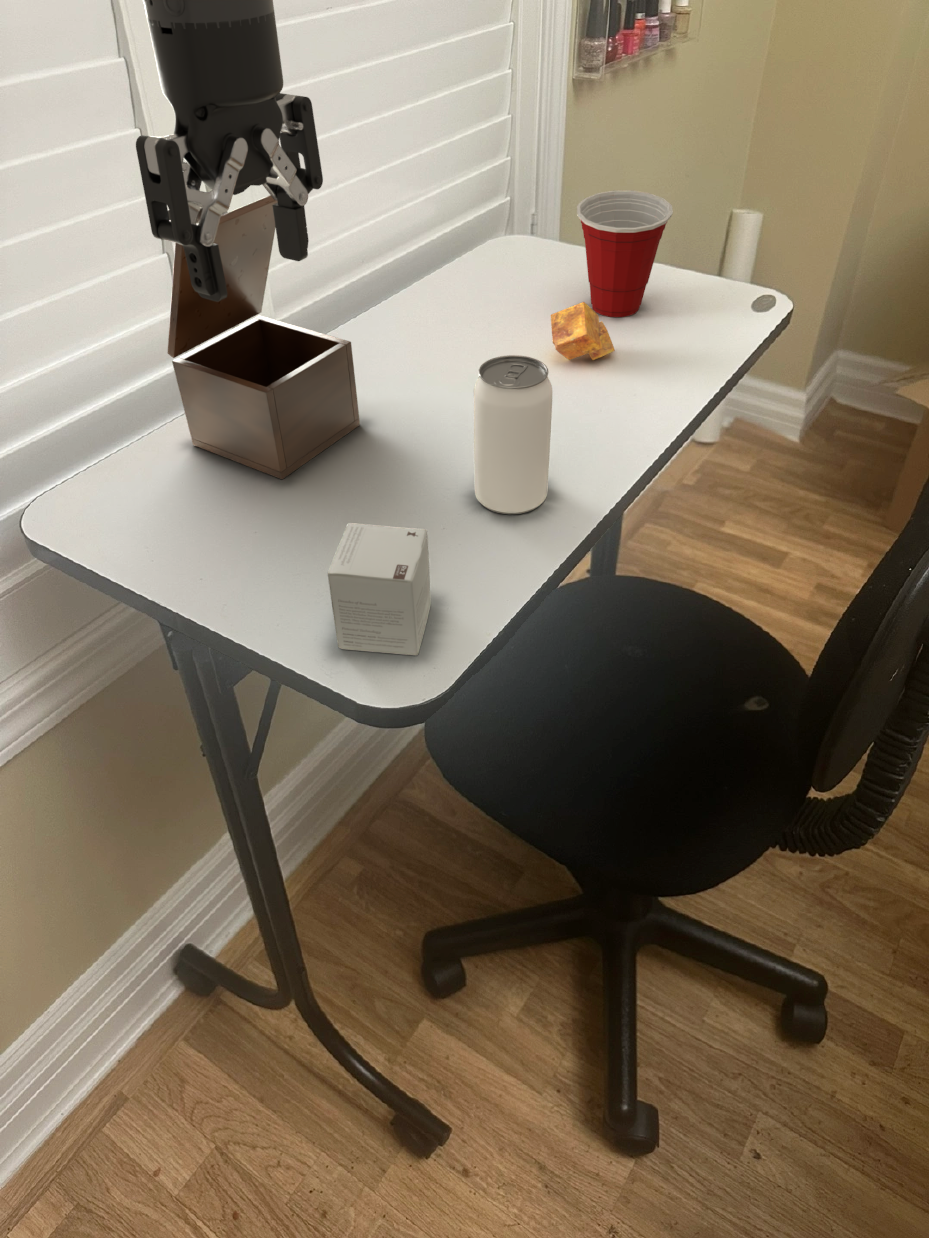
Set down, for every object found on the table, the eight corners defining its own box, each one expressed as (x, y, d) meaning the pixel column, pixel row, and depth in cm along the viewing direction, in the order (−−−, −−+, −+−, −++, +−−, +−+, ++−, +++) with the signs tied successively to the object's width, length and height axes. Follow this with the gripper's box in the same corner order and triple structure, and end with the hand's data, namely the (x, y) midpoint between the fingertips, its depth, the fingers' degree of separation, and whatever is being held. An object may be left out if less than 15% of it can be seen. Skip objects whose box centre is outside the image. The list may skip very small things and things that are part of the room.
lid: (280, 198, 79) (236, 165, 80) (182, 239, 72) (135, 202, 73) (261, 312, 89) (222, 282, 90) (173, 358, 82) (131, 325, 82)
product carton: (356, 597, 71) (346, 520, 66) (432, 603, 70) (428, 526, 65) (337, 651, 66) (325, 572, 61) (419, 658, 65) (413, 579, 60)
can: (464, 508, 79) (461, 383, 71) (488, 470, 84) (488, 348, 76) (535, 522, 77) (540, 395, 69) (555, 483, 82) (563, 359, 74)
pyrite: (578, 341, 103) (581, 373, 102) (550, 313, 98) (551, 347, 97) (618, 325, 101) (621, 358, 100) (591, 296, 95) (593, 331, 94)
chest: (360, 425, 90) (351, 341, 84) (282, 479, 83) (266, 392, 77) (273, 395, 95) (259, 315, 89) (192, 445, 88) (171, 360, 82)
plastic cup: (561, 322, 107) (567, 217, 99) (579, 287, 115) (586, 187, 107) (653, 332, 105) (666, 225, 97) (665, 295, 113) (679, 193, 104)
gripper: (244, -13, 60) (280, 238, 71) (71, 19, 51) (143, 301, 62) (333, -6, 57) (357, 256, 68) (166, 30, 48) (224, 325, 59)
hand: (255, 277), depth 65 cm, fingers open, 8 cm apart
